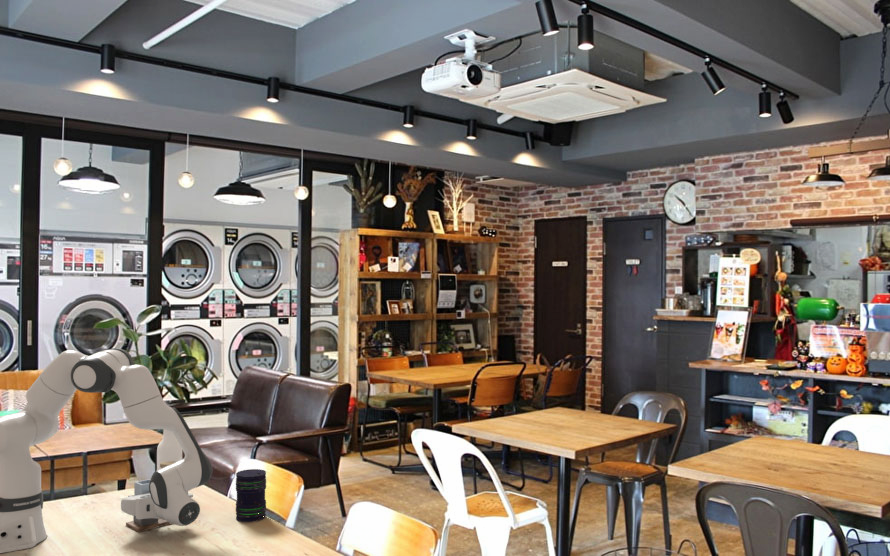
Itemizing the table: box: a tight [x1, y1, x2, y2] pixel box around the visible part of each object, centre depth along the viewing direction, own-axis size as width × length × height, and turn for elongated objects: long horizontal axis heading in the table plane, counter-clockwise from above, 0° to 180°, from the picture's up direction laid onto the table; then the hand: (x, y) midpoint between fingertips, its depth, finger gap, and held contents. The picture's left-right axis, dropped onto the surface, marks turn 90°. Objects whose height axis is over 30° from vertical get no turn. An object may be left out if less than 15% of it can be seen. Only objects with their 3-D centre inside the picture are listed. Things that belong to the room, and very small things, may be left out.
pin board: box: [125, 518, 173, 533], centre depth 242 cm, size 18×9×4 cm, turn 137°
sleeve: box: [132, 478, 158, 526], centre depth 238 cm, size 6×6×13 cm
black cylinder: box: [235, 468, 267, 523], centre depth 246 cm, size 10×10×15 cm
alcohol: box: [156, 429, 183, 471], centre depth 273 cm, size 9×9×30 cm
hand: (144, 494), depth 239 cm, fingers open, 8 cm apart
